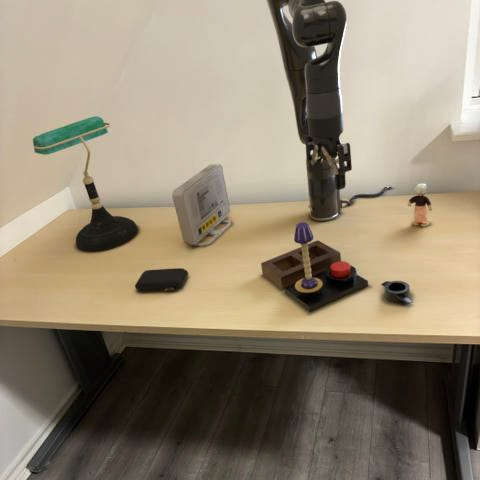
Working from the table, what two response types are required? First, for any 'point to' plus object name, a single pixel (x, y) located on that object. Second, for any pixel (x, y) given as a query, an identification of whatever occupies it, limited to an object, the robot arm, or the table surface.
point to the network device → (202, 205)
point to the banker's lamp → (89, 187)
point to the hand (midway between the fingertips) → (329, 184)
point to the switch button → (340, 269)
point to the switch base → (327, 289)
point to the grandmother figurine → (420, 205)
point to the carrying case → (161, 279)
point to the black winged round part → (397, 292)
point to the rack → (299, 264)
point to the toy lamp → (305, 253)
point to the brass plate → (300, 289)
